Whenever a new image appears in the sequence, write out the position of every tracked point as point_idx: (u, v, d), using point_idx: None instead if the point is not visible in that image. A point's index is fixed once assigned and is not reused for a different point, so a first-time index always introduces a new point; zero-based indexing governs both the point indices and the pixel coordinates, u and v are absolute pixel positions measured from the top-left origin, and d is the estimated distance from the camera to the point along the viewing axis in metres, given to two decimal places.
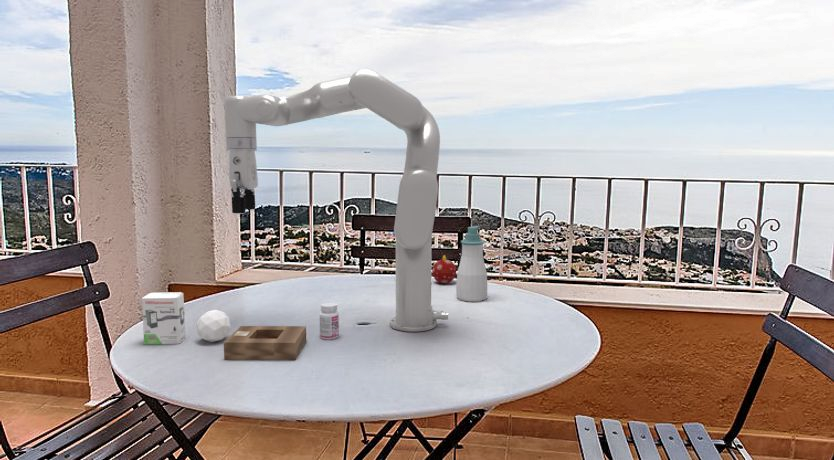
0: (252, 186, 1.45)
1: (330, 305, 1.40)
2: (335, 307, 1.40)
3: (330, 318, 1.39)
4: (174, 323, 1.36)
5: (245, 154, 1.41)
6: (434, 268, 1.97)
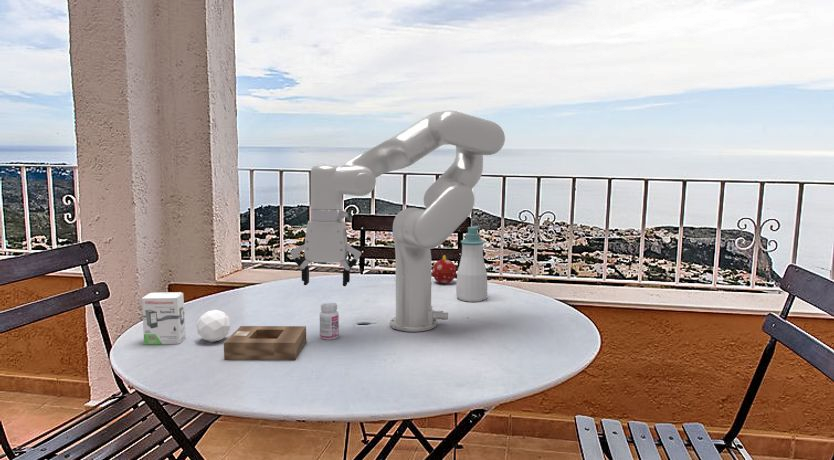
0: None
1: (330, 305, 1.40)
2: (335, 307, 1.40)
3: (330, 318, 1.39)
4: (174, 323, 1.36)
5: None
6: (434, 268, 1.97)
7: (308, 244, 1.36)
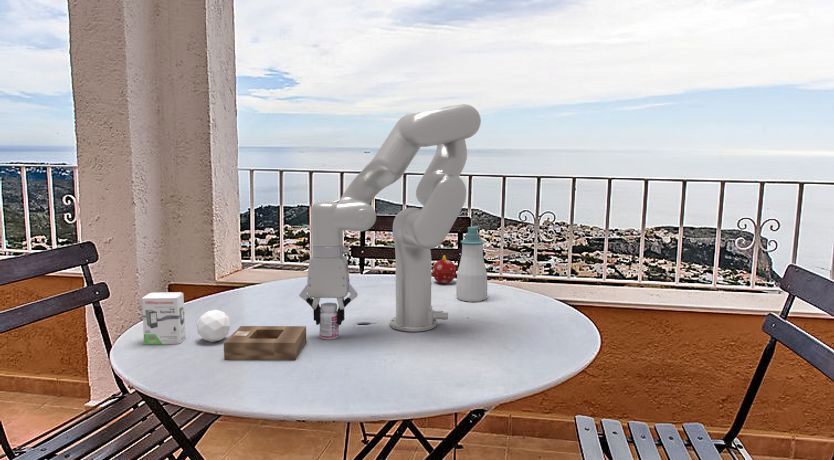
0: None
1: (330, 305, 1.40)
2: (335, 307, 1.40)
3: (330, 318, 1.39)
4: (174, 323, 1.36)
5: None
6: (434, 268, 1.97)
7: (311, 280, 1.38)
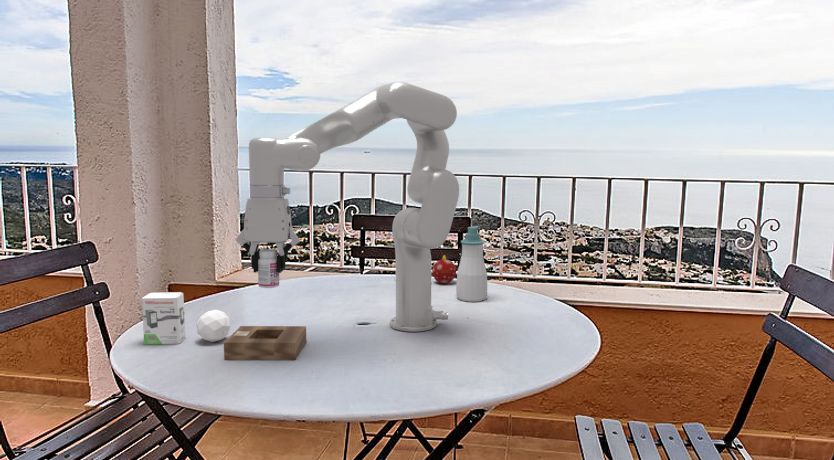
0: None
1: (269, 251, 1.29)
2: (275, 253, 1.29)
3: (269, 264, 1.28)
4: (174, 323, 1.36)
5: None
6: (434, 268, 1.97)
7: (247, 223, 1.27)
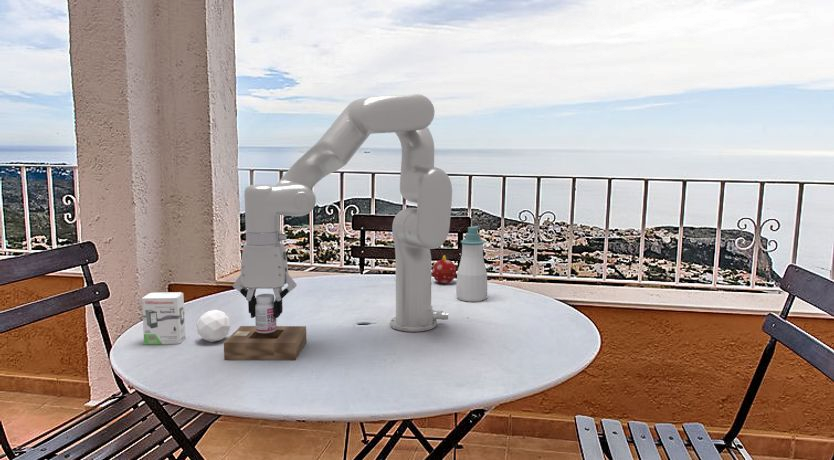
0: None
1: (266, 296, 1.29)
2: (271, 298, 1.30)
3: (266, 310, 1.29)
4: (174, 323, 1.36)
5: None
6: (434, 268, 1.97)
7: (244, 270, 1.27)
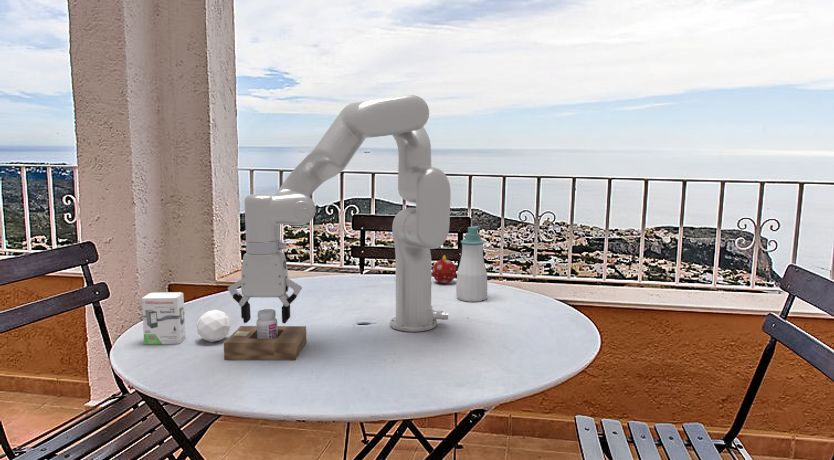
0: None
1: (267, 312, 1.30)
2: (273, 314, 1.30)
3: (267, 326, 1.29)
4: (174, 323, 1.36)
5: None
6: (434, 268, 1.97)
7: (244, 279, 1.28)
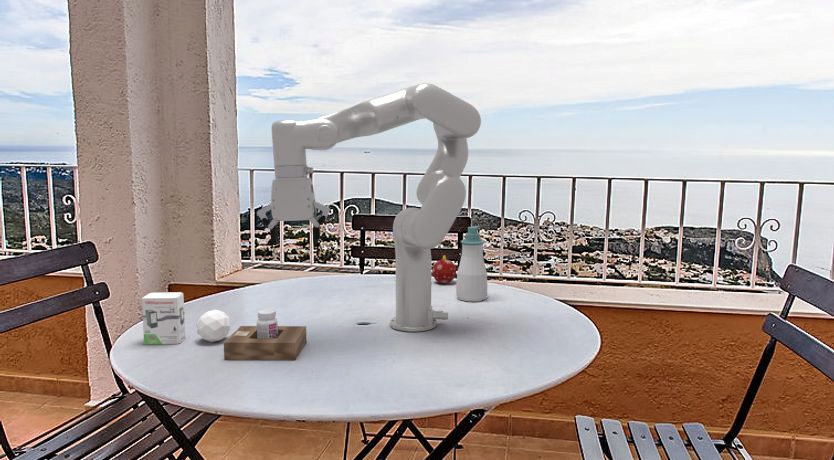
0: None
1: (267, 312, 1.30)
2: (273, 314, 1.30)
3: (267, 326, 1.29)
4: (174, 323, 1.36)
5: None
6: (434, 268, 1.97)
7: (274, 203, 1.33)
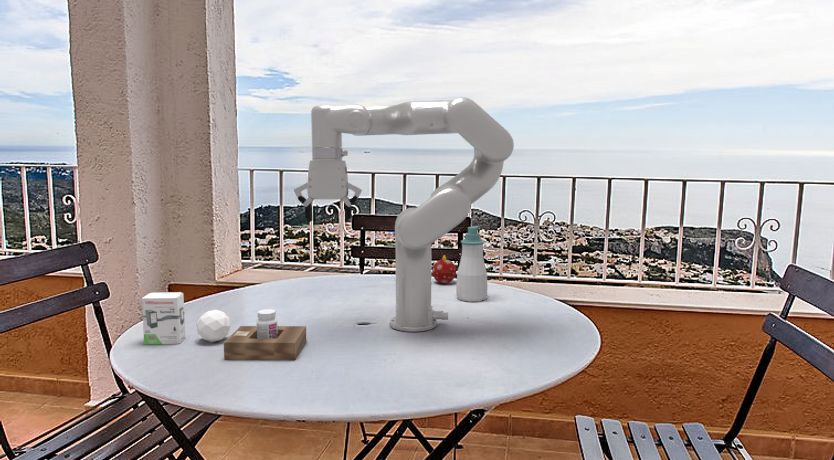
0: None
1: (267, 312, 1.30)
2: (273, 314, 1.30)
3: (267, 326, 1.29)
4: (174, 323, 1.36)
5: None
6: (434, 268, 1.97)
7: (311, 182, 1.42)
